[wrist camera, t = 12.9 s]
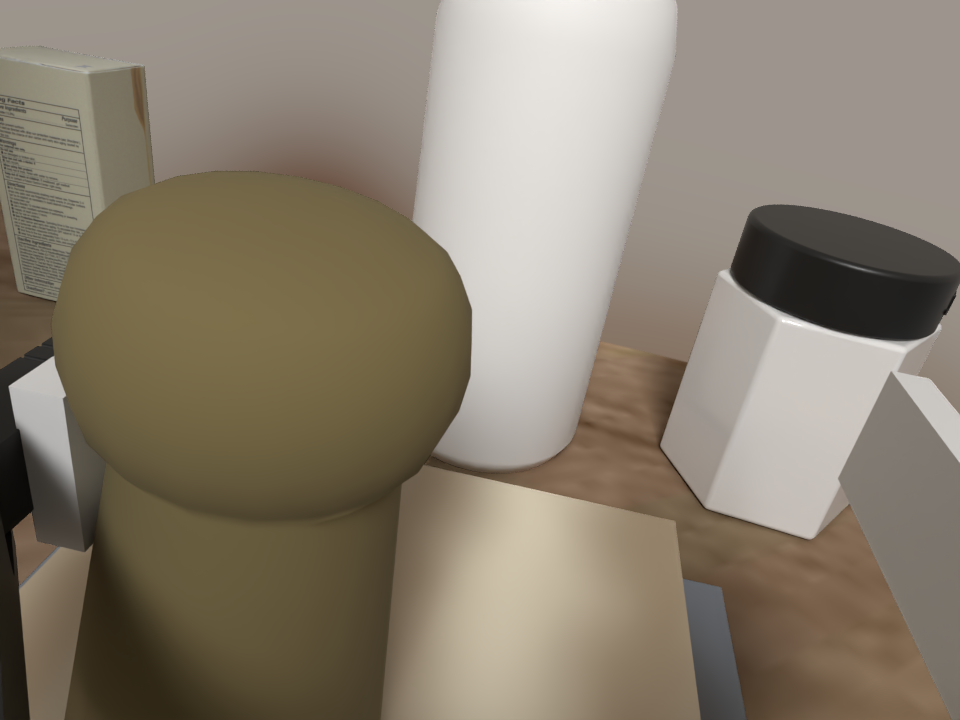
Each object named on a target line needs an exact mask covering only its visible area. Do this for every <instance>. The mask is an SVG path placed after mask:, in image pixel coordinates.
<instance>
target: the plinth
mask: <svg viewBox="0 0 960 720" xmlns="http://www.w3.org/2000/svg"><path fill="white" fill-rule="evenodd" d="M92 547H93V544H92V545H91V547H90V548H89V549H88V550H87V551H86V552H80V551H76V550H72V549H68V548H64V547H59V546H58V547H57V548H56V549H55V550H54V551H53V552H52V553H51V554H50V555H49V556H48V557H47V558H46V559H45V560H44V561H43V562H42V563H41V564H40V565H39V566H38V567H37V568H36V570H35V571H34V572H33V573H32V574H31V575H30V576H29V577H28V578H27V579H26V580H25V581H24V582H23V583H22V584H21V585H20V586H19V593H20V605H21V617H22V629H23V641H24V652H25V664H26V676H27V688H28V700H29V712H30V720H64V718H65V712H66V706H67V700H68V694H69V688H70V681H71V675H72V669H73V663H74V657H75V651H76V645H77V639H78V632H79V626H80V620H81V614H82V608H83V602H84V596H85V590H86V583H87V577H88V571H89V565H90V559H91V553H92ZM380 720H747V719H746V714H745V708H744V703H743V698H742V693H741V688H740V682H739V677H738V672H737V667H736V661H735V656H734V651H733V646H732V641H731V635H730V630H729V625H728V620H727V615H726V609H725V604H724V599H723V594H722V589H721V587H717V586H713V585H708V584H704V583H699V582H695V581H691V580H686V579H683V578H682V571H681V563H680V555H679V547H678V540H677V532H676V524H675V521H672V520H668V519H663V518H659V517H654V516H650V515H645V514H641V513H636V512H632V511H627V510H623V509H618V508H614V507H610V506H605V505H601V504H596V503H592V502H587V501H583V500H578V499H574V498H569V497H565V496H561V495H556V494H552V493H547V492H543V491H538V490H534V489H529V488H525V487H520V486H516V485H511V484H507V483H503V482H498V481H494V480H489V479H485V478H480V477H476V476H471V475H467V474H462V473H458V472H454V471H449V470H445V469H440V468H436V467H431V466H427V465H423V467H422V468H421V469H420V471H419V472H418V473H417V474H416V475H414V476H413V477H411V478H410V479H408V480H407V481H405V482H404V483H402V489H401V500H400V511H399V522H398V533H397V544H396V555H395V566H394V577H393V588H392V599H391V610H390V621H389V632H388V643H387V654H386V665H385V676H384V687H383V698H382V709H381V719H380Z"/></svg>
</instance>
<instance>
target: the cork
mask: <svg viewBox="0 0 960 720" xmlns="http://www.w3.org/2000/svg"><path fill="white" fill-rule="evenodd" d="M51 329H52V339H53V349H54V360H55V367H56V369H57V372H58V375H59V378H60V380H61V383H62V386H63V389H64V391H65V394H66V397H67V400H68V402H69V405H70V408H71V410H72V412H73V414H74V417H75V419H76V421H77V423H78V425H79V428H80V430H81V432H82V434H83V437H84V439H85V441H86V443H87V444H88V445H89V446H90V447H91V448H92V449H93V450H94V451H95V452H96V453H97V454H98V455H99V456H100V457H101V458H102V459H104V460H105V461H106V467H105V473H104V479H103V485H102V492H101V498H100V504H99V511H98V517H97V523H96V529H95V536H94V542H93V547H92V553H91V559H90V565H89V571H88V577H87V583H86V590H85V596H84V602H83V608H82V614H81V620H80V626H79V632H78V639H77V645H76V651H75V657H74V663H73V669H72V675H71V681H70V688H69V694H68V700H67V706H66V712H65V718H64V720H380V719H381V709H382V698H383V687H384V676H385V665H386V654H387V643H388V632H389V621H390V610H391V599H392V588H393V577H394V566H395V555H396V544H397V533H398V522H399V511H400V500H401V489H402V483H404V482H405V481H407V480H408V479H410V478H411V477H413V476H414V475H416V474H417V473H418V472H419V471H420V469H421V468H422V467H423V465H424V464H425V462H426V461H427V459H428V458H429V456H430V455H431V453H432V452H433V450H434V449H435V447H436V446H437V444H438V443H439V441H440V440H441V438H442V437H443V435H444V434H445V432H446V431H447V429H448V428H449V426H450V424H451V423H452V421H453V420H454V418H455V417H456V415H457V414H458V412H459V410H460V407H461V404H462V401H463V398H464V395H465V392H466V389H467V386H468V383H469V380H470V377H471V349H472V308H471V305H470V302H469V299H468V296H467V293H466V290H465V287H464V284H463V282H462V279H461V276H460V274H459V272H458V270H457V269H456V267H455V265H454V263H453V261H452V260H451V258H450V256H449V254H448V252H447V251H446V250H445V249H444V248H442V247H441V246H440V245H439V244H438V243H437V242H436V241H435V240H433V239H432V238H431V237H430V236H429V235H428V234H427V233H426V232H424V231H423V230H422V229H421V228H420V227H418V226H417V225H416V224H415V223H414V222H412V221H411V220H410V219H409V218H407V217H405V216H404V215H402V214H400V213H398V212H396V211H395V210H393V209H391V208H389V207H388V206H386V205H384V204H382V203H380V202H379V201H377V200H374V199H371V198H369V197H366V196H363V195H361V194H358V193H356V192H353V191H350V190H347V189H345V188H342V187H339V186H335V185H331V184H327V183H323V182H319V181H315V180H311V179H307V178H303V177H297V176H289V175H281V174H274V173H266V172H259V171H212V172H205V173H197V174H190V175H183V176H177V177H174V178H171V179H168V180H165V181H162V182H159V183H156V184H153V185H150V186H147V187H145V188H142V189H139V190H136V191H133V192H131V193H128V194H125V195H122V196H120V197H119V198H118V199H117V200H116V201H114V202H113V203H112V204H111V205H110V206H108V207H107V208H106V209H105V210H103V211H102V212H101V213H100V214H99V215H97V216H96V217H95V219H94V220H93V221H92V223H91V224H90V225H89V227H88V228H87V229H86V230H85V232H84V233H83V234H82V236H81V237H80V238H79V240H78V241H77V242H76V244H75V245H74V246H73V247H72V249H71V252H70V255H69V259H68V262H67V265H66V269H65V272H64V276H63V279H62V282H61V286H60V290H59V294H58V298H57V302H56V306H55V310H54V314H53V317H52V321H51Z"/></svg>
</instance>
